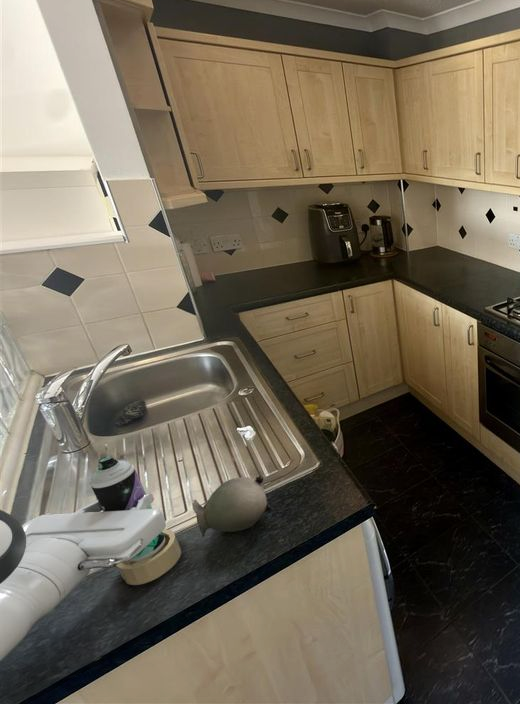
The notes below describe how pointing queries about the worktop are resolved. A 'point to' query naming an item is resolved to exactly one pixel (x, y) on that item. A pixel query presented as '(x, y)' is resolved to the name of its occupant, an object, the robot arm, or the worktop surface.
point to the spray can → (121, 494)
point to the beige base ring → (152, 562)
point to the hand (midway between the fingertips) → (128, 497)
